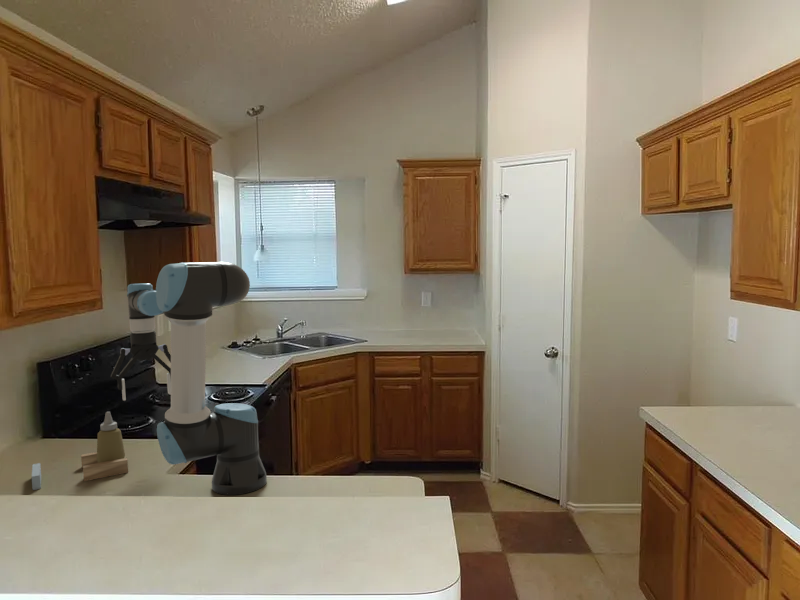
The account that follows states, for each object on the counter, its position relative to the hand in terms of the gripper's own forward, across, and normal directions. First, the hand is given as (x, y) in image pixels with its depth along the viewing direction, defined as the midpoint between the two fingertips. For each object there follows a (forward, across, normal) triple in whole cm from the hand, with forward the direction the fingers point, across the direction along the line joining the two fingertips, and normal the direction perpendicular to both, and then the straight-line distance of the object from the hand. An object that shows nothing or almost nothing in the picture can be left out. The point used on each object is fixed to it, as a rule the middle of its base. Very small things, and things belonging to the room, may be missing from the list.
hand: (147, 396), depth 189 cm
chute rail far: (+21, +14, -5) cm, 25 cm away
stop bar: (+21, +32, +2) cm, 38 cm away
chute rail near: (+21, +14, +7) cm, 26 cm away
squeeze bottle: (+21, +12, +1) cm, 24 cm away
